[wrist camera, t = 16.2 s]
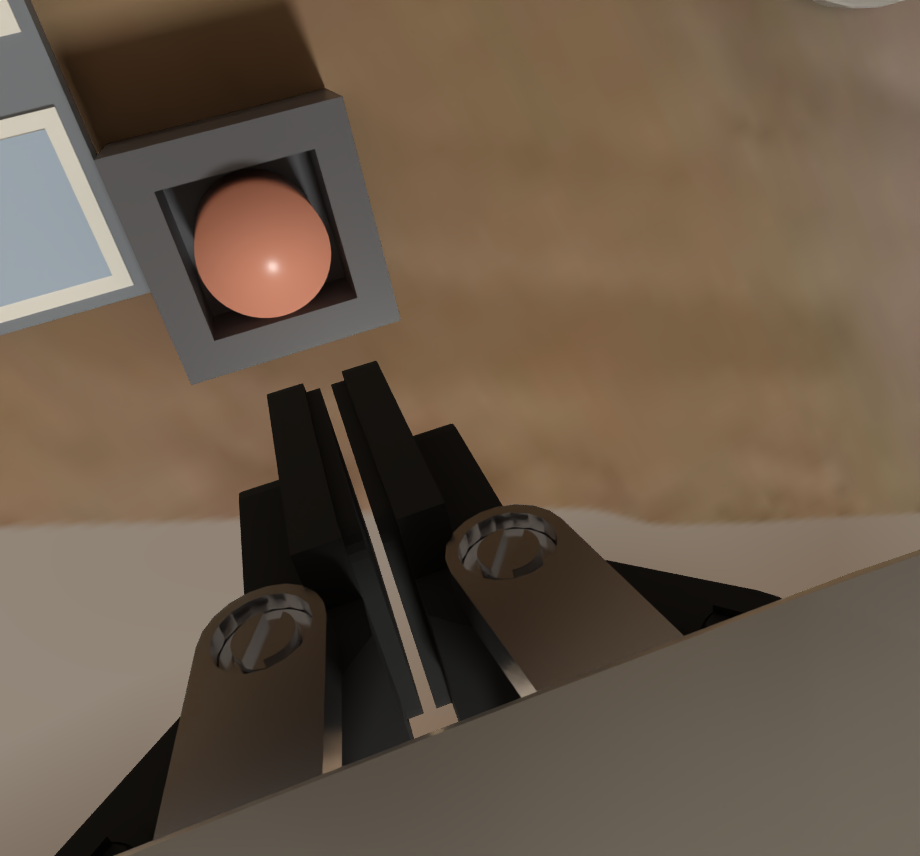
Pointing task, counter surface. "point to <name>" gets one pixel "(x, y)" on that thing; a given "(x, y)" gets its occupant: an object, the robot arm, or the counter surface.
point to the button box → (173, 227)
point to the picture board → (51, 191)
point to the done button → (260, 244)
